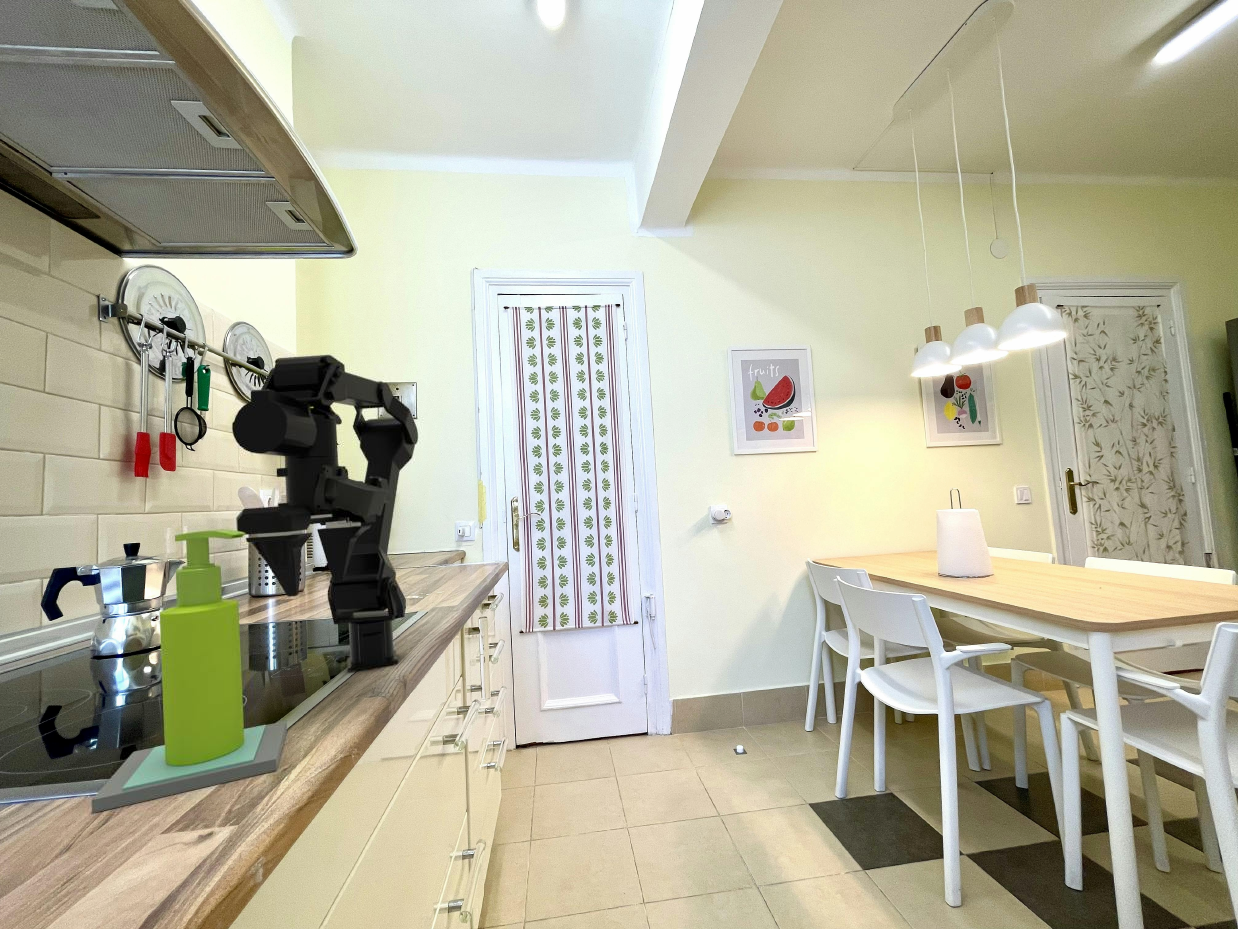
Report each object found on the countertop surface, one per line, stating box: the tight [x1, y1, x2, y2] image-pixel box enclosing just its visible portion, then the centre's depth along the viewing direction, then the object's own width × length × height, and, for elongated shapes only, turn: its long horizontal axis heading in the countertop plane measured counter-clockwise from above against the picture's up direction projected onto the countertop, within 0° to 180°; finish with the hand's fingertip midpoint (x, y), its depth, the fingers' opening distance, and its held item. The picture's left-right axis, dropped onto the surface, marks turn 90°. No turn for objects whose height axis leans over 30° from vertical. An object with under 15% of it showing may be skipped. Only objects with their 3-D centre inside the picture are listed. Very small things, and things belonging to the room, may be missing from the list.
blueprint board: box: [91, 720, 288, 814], centre depth 53 cm, size 10×12×1 cm
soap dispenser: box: [159, 529, 246, 766], centre depth 54 cm, size 6×7×20 cm
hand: (317, 588), depth 70 cm, fingers open, 9 cm apart
